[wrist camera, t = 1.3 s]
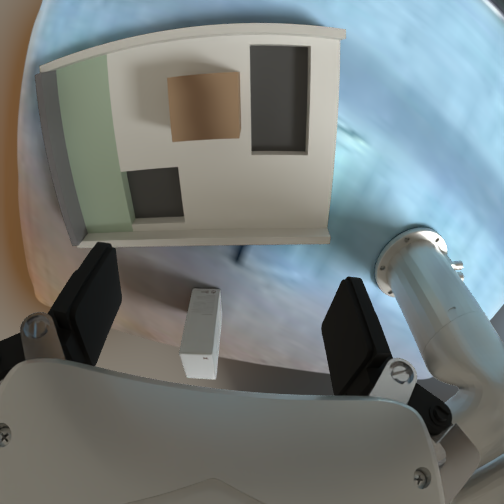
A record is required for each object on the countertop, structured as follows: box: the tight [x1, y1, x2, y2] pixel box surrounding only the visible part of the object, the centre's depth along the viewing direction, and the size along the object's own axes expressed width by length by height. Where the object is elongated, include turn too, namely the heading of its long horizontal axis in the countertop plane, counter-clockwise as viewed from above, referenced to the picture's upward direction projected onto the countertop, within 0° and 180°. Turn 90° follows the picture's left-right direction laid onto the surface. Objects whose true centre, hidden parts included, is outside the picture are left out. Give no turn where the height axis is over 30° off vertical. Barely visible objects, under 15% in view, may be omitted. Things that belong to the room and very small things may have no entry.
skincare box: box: [179, 288, 222, 379], centre depth 40 cm, size 6×4×12 cm
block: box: [167, 72, 241, 142], centre depth 25 cm, size 6×6×5 cm
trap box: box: [35, 23, 346, 248], centre depth 29 cm, size 32×24×5 cm
